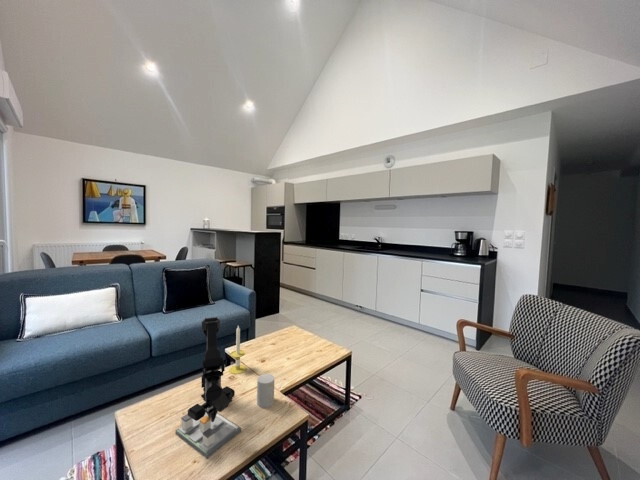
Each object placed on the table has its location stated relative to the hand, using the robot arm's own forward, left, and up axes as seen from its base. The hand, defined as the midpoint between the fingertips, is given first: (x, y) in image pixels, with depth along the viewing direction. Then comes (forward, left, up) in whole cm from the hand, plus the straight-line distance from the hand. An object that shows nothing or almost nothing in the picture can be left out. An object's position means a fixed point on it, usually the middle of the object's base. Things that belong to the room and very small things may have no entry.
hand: (212, 421), depth 111 cm
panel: (0, -2, -4) cm, 4 cm away
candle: (-28, +37, -4) cm, 47 cm away
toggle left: (-7, -7, -1) cm, 10 cm away
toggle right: (+7, -7, -1) cm, 10 cm away
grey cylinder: (+6, +25, -4) cm, 26 cm away
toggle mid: (0, -3, -1) cm, 4 cm away
